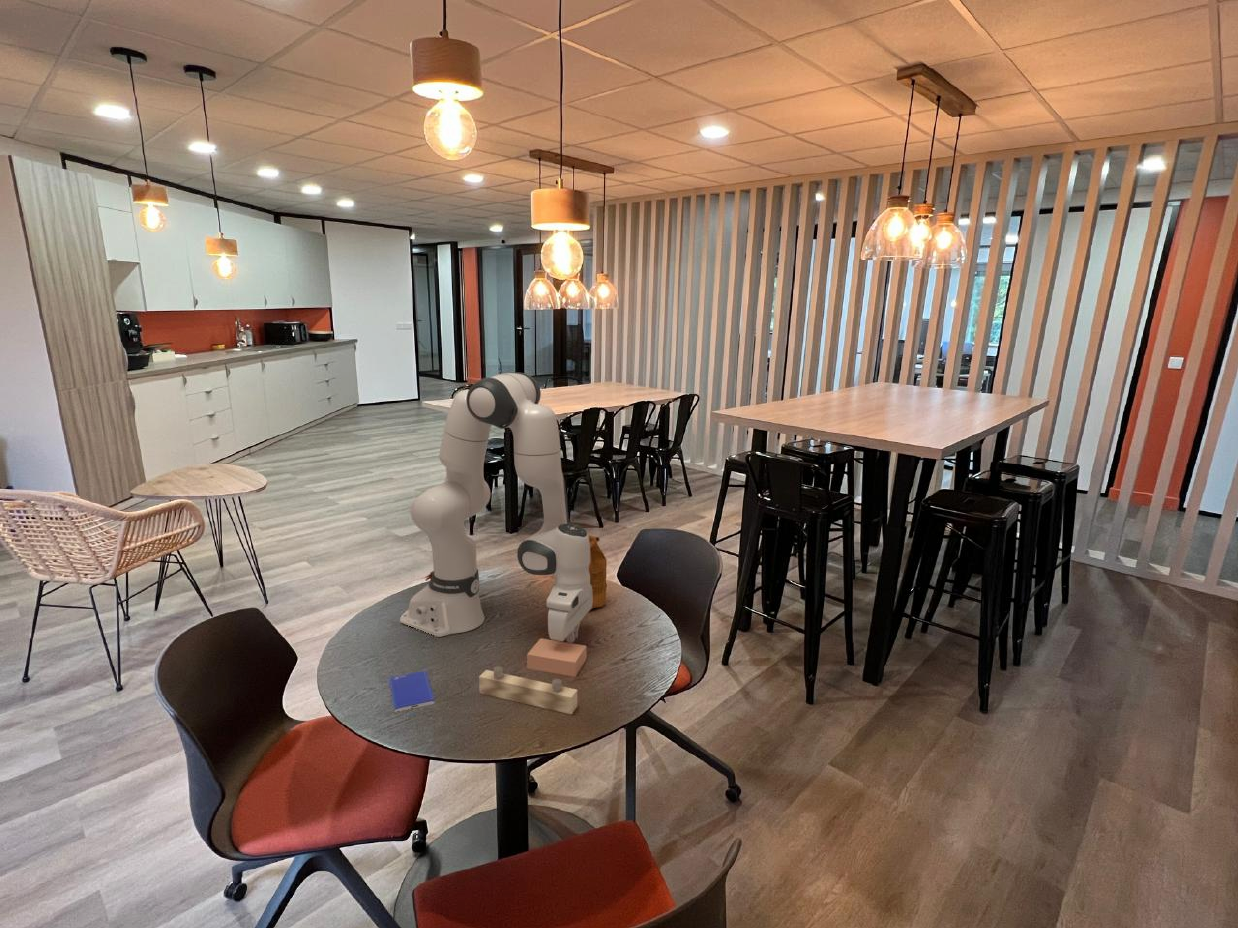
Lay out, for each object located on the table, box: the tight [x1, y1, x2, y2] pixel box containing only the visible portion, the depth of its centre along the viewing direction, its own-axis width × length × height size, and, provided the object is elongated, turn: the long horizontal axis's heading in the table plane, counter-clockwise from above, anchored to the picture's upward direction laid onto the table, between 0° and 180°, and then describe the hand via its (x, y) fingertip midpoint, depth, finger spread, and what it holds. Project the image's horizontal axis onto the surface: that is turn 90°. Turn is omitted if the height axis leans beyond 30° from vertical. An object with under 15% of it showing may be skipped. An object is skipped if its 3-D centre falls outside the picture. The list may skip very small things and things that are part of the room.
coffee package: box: [588, 534, 608, 610], centre depth 181 cm, size 10×12×22 cm
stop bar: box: [478, 665, 578, 715], centre depth 136 cm, size 22×3×6 cm, turn 71°
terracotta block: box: [526, 637, 587, 678], centre depth 151 cm, size 12×8×4 cm, turn 74°
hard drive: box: [388, 670, 436, 713], centre depth 139 cm, size 2×8×12 cm
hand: (572, 639), depth 159 cm, fingers closed
